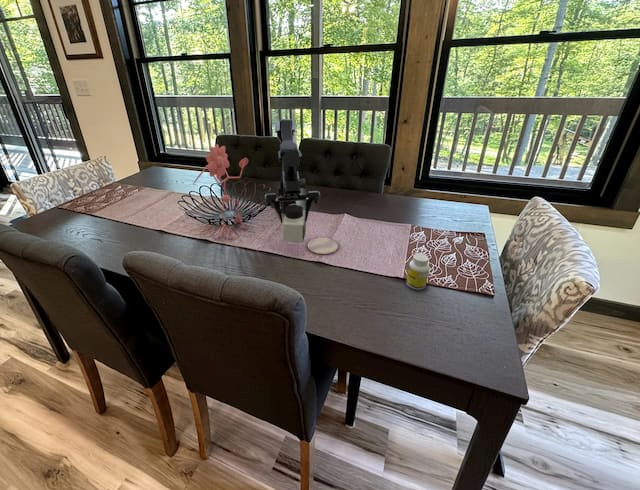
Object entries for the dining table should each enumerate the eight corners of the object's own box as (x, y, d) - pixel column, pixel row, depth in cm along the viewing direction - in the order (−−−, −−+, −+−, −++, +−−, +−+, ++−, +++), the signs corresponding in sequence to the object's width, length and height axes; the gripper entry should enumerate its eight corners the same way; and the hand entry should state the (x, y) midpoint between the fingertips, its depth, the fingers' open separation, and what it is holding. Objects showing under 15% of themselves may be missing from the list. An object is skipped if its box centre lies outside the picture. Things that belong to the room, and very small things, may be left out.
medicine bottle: (303, 243, 106) (303, 211, 100) (282, 241, 107) (281, 210, 101) (305, 232, 112) (305, 202, 106) (286, 231, 113) (285, 201, 107)
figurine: (258, 221, 134) (251, 138, 118) (218, 250, 114) (204, 156, 98) (230, 214, 141) (220, 135, 125) (188, 240, 122) (170, 151, 105)
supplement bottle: (402, 279, 95) (407, 252, 90) (420, 278, 95) (425, 251, 91) (410, 291, 90) (416, 263, 86) (429, 289, 90) (435, 261, 86)
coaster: (301, 247, 114) (301, 246, 113) (319, 235, 121) (319, 234, 120) (326, 258, 107) (326, 257, 107) (343, 245, 114) (343, 244, 114)
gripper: (263, 171, 102) (265, 216, 97) (320, 168, 102) (324, 213, 97) (264, 184, 112) (266, 226, 108) (316, 182, 113) (320, 223, 108)
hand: (293, 222), depth 105 cm, fingers closed on medicine bottle, 8 cm apart
